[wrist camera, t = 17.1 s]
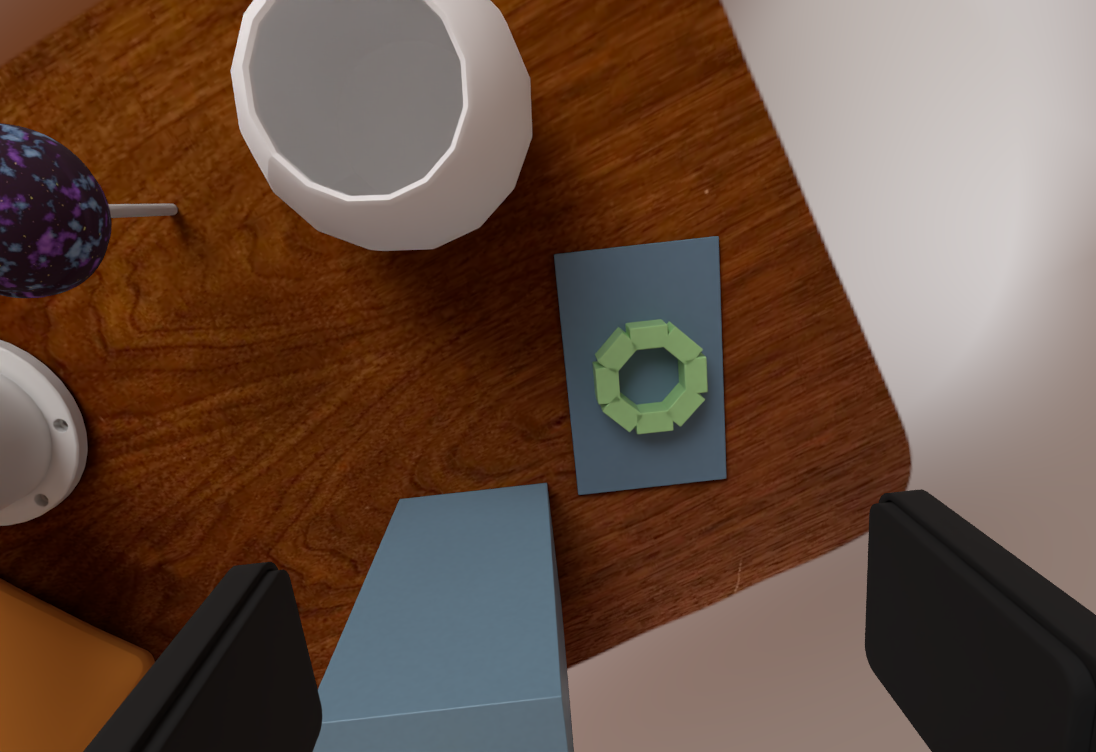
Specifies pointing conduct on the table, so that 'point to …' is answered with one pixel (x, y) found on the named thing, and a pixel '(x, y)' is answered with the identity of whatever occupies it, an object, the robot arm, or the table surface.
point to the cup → (384, 114)
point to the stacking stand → (455, 633)
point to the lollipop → (52, 216)
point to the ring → (676, 402)
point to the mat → (642, 360)
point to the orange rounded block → (58, 675)
